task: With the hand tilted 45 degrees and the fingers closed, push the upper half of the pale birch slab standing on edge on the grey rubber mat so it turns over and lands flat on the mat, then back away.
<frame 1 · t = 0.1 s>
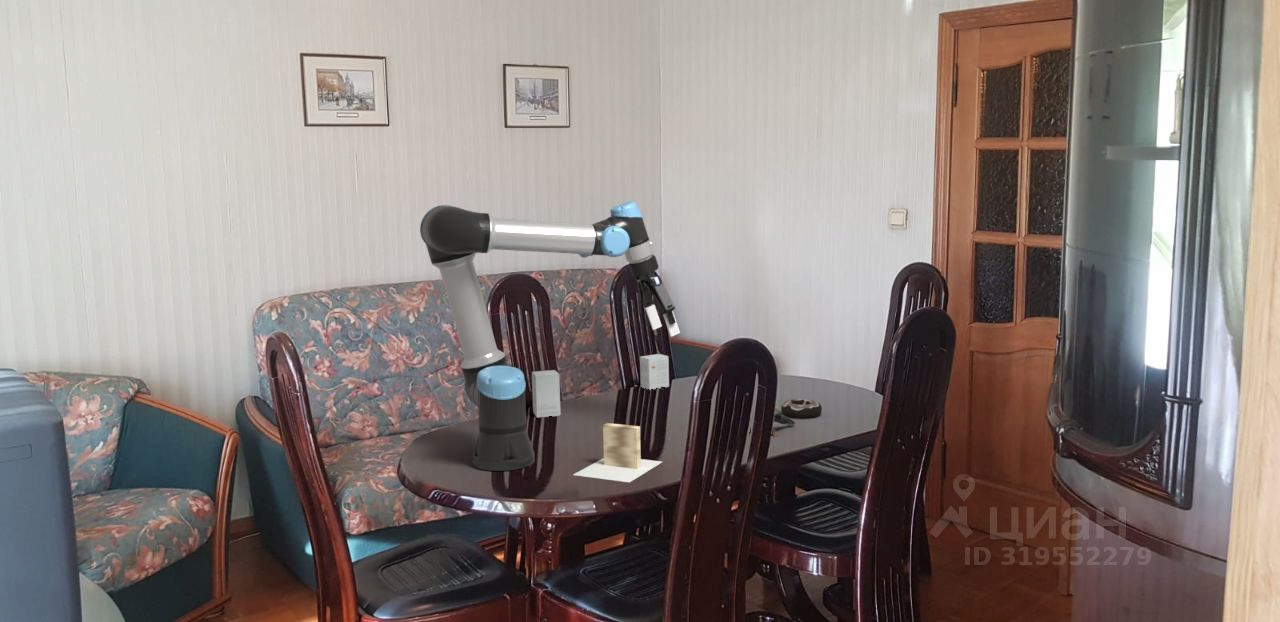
hand: (666, 331, 279), 28 cm above the table, tool tilted 20°, fingers open, 13 cm apart
rubber mat: (618, 470, 246), on the table
small box: (654, 387, 339), on the table
donut: (801, 416, 298), on the table
birch slab: (622, 465, 248), point 1 cm above the table, touching rubber mat
supplement box: (546, 414, 305), on the table
bird figurine: (765, 433, 279), on the table
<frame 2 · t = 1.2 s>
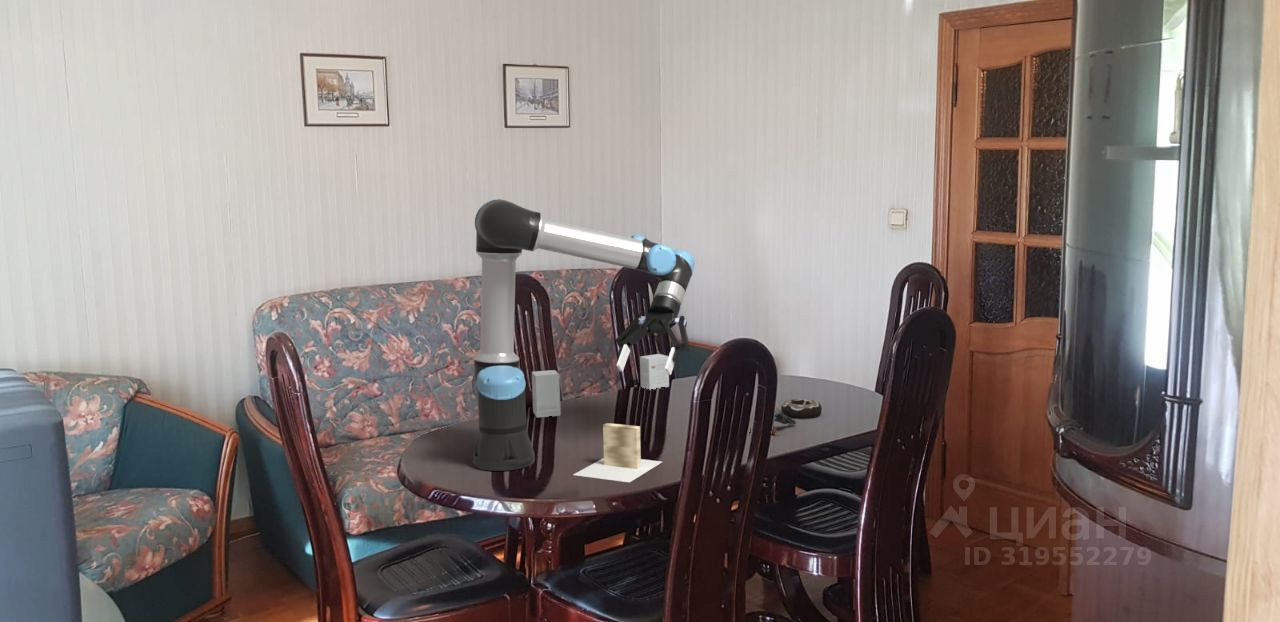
hand: (643, 370, 256), 22 cm above the table, tool tilted 45°, fingers open, 13 cm apart
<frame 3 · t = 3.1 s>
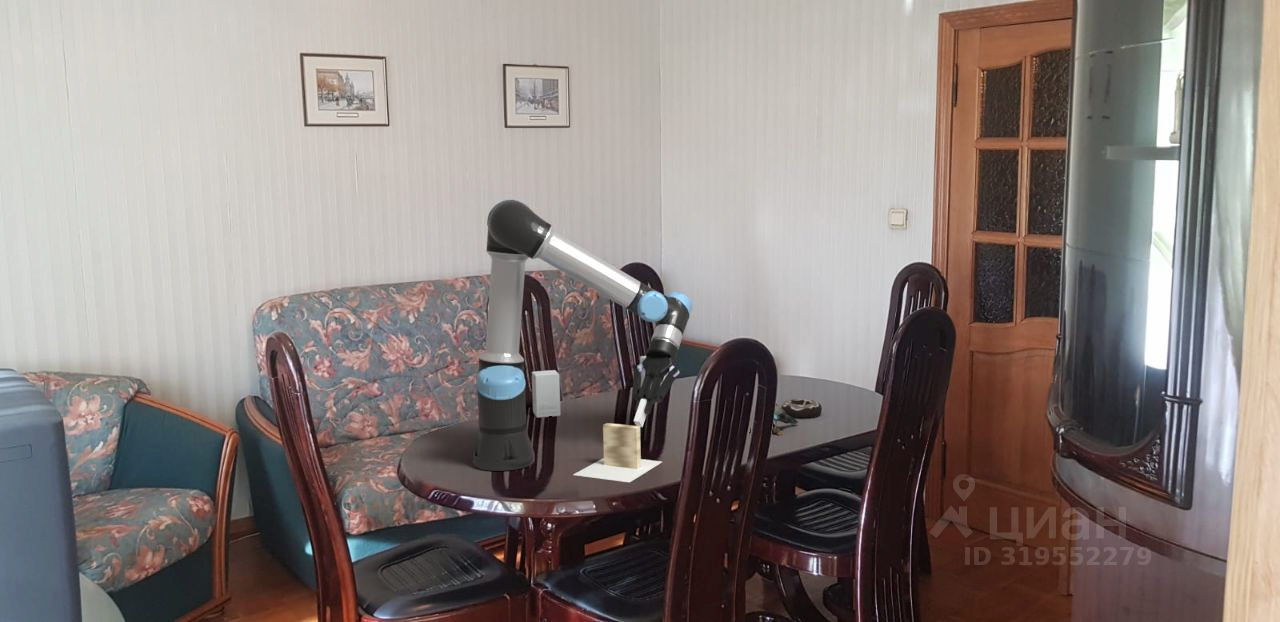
hand: (638, 423, 253), 9 cm above the table, tool tilted 45°, fingers closed
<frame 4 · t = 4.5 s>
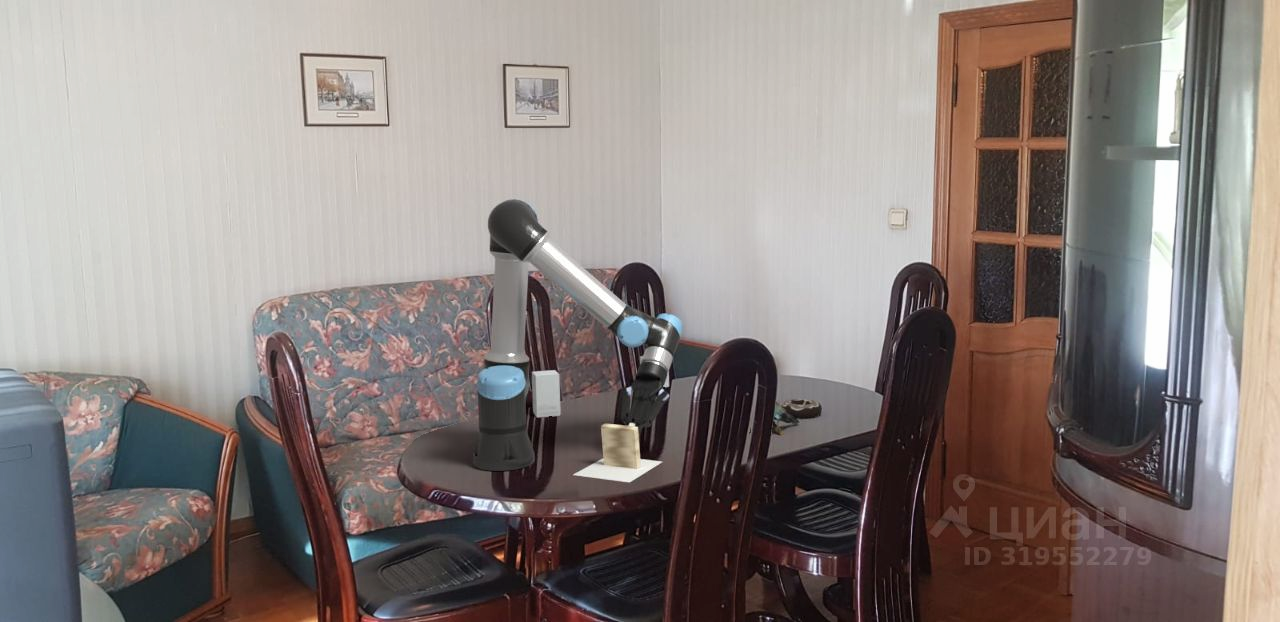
hand: (626, 448, 249), 4 cm above the table, tool tilted 45°, fingers closed
birch slab: (622, 465, 248), point 1 cm above the table, tilted 6°, touching gripper, rubber mat
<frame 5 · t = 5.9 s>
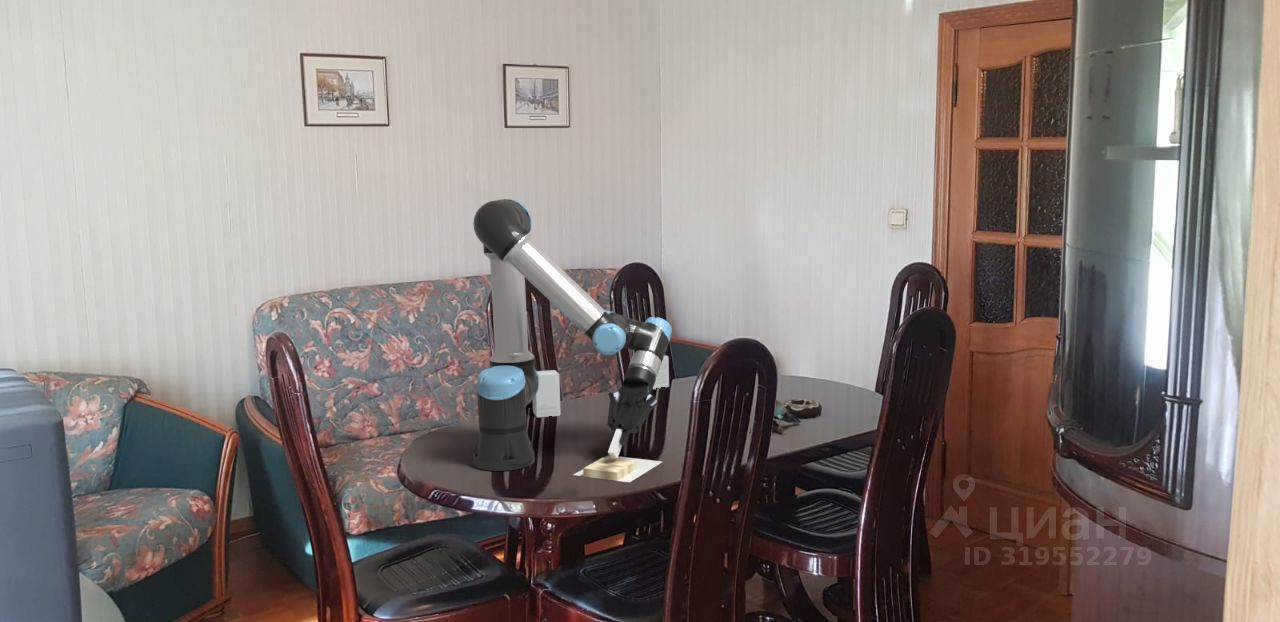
hand: (612, 455, 243), 5 cm above the table, tool tilted 45°, fingers closed
birch slab: (620, 463, 247), point 2 cm above the table, tilted 90°, touching rubber mat
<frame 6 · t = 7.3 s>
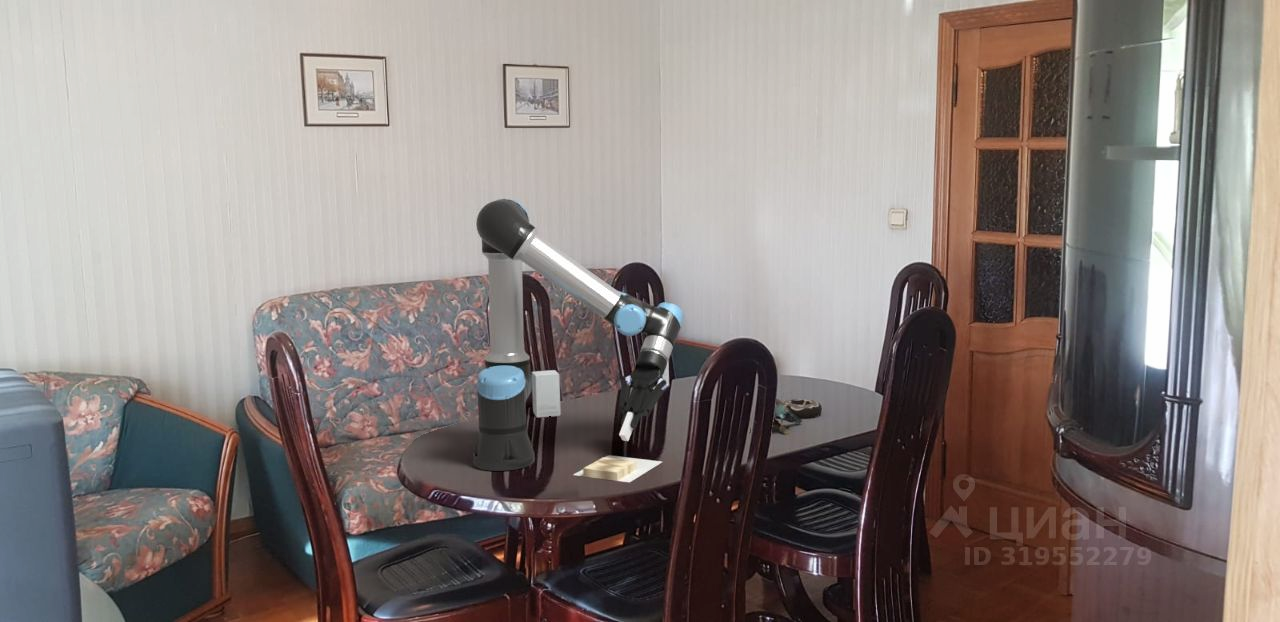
hand: (623, 437, 247), 8 cm above the table, tool tilted 45°, fingers closed
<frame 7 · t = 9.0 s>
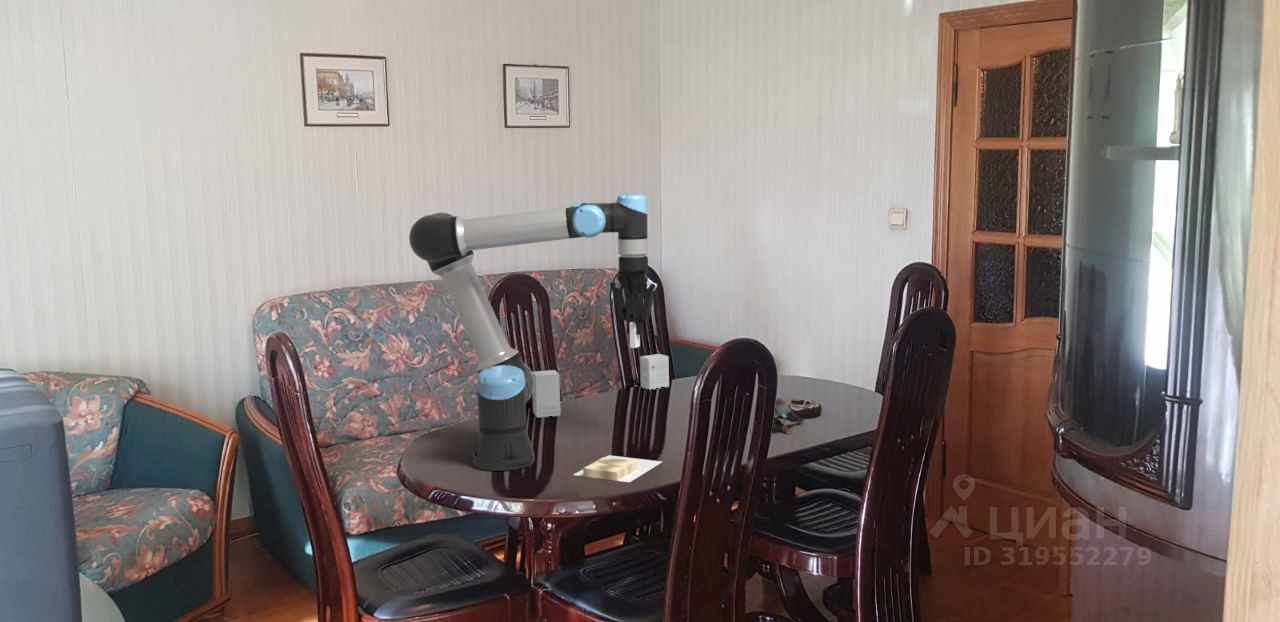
hand: (635, 346, 264), 26 cm above the table, tool pointing down, fingers closed
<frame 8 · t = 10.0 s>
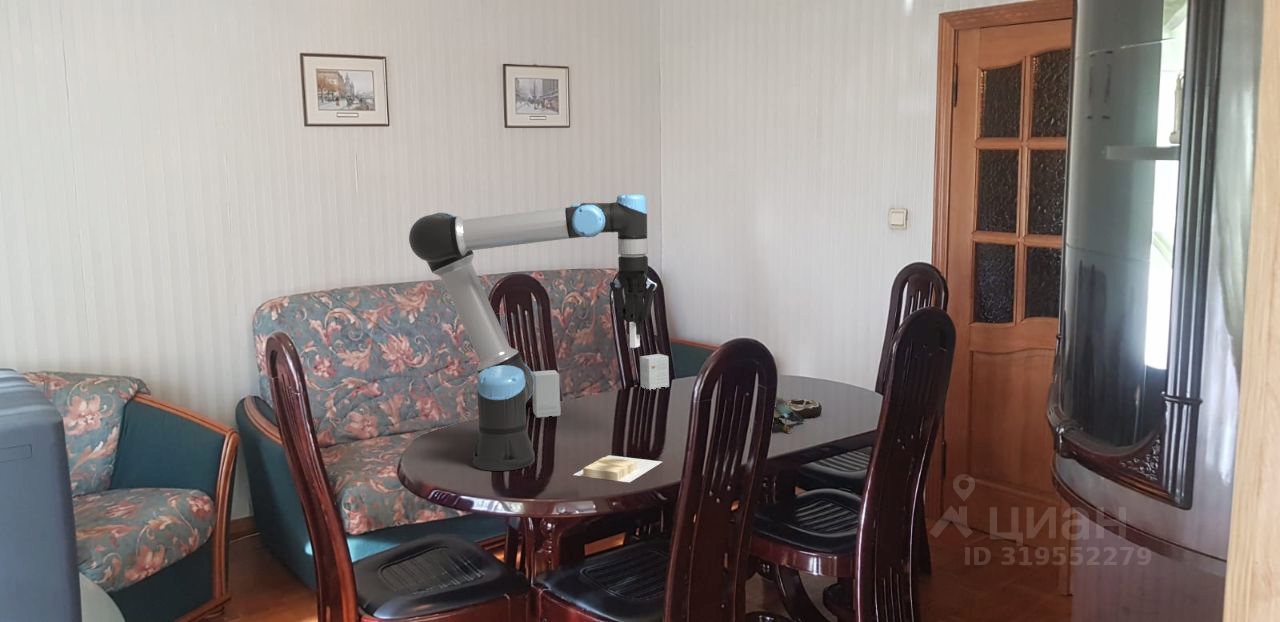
hand: (634, 346, 264), 26 cm above the table, tool pointing down, fingers closed
at the end: birch slab tilted 90°; birch slab inside the target area (1.8 cm from its centre), point 1.6 cm above the table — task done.
